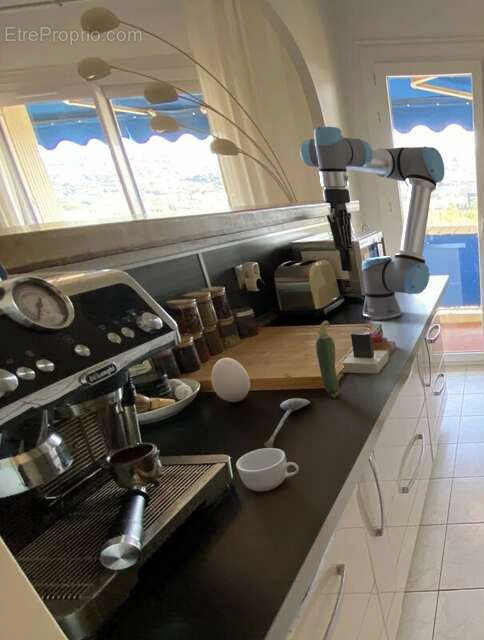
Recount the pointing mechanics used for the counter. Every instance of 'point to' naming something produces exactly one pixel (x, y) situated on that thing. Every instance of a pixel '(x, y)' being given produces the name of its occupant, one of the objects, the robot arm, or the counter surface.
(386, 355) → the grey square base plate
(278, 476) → the teacup
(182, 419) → the counter surface
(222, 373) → the egg
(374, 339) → the button
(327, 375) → the vegetable
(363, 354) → the dark grey block
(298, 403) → the soupspoon
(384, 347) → the button block
